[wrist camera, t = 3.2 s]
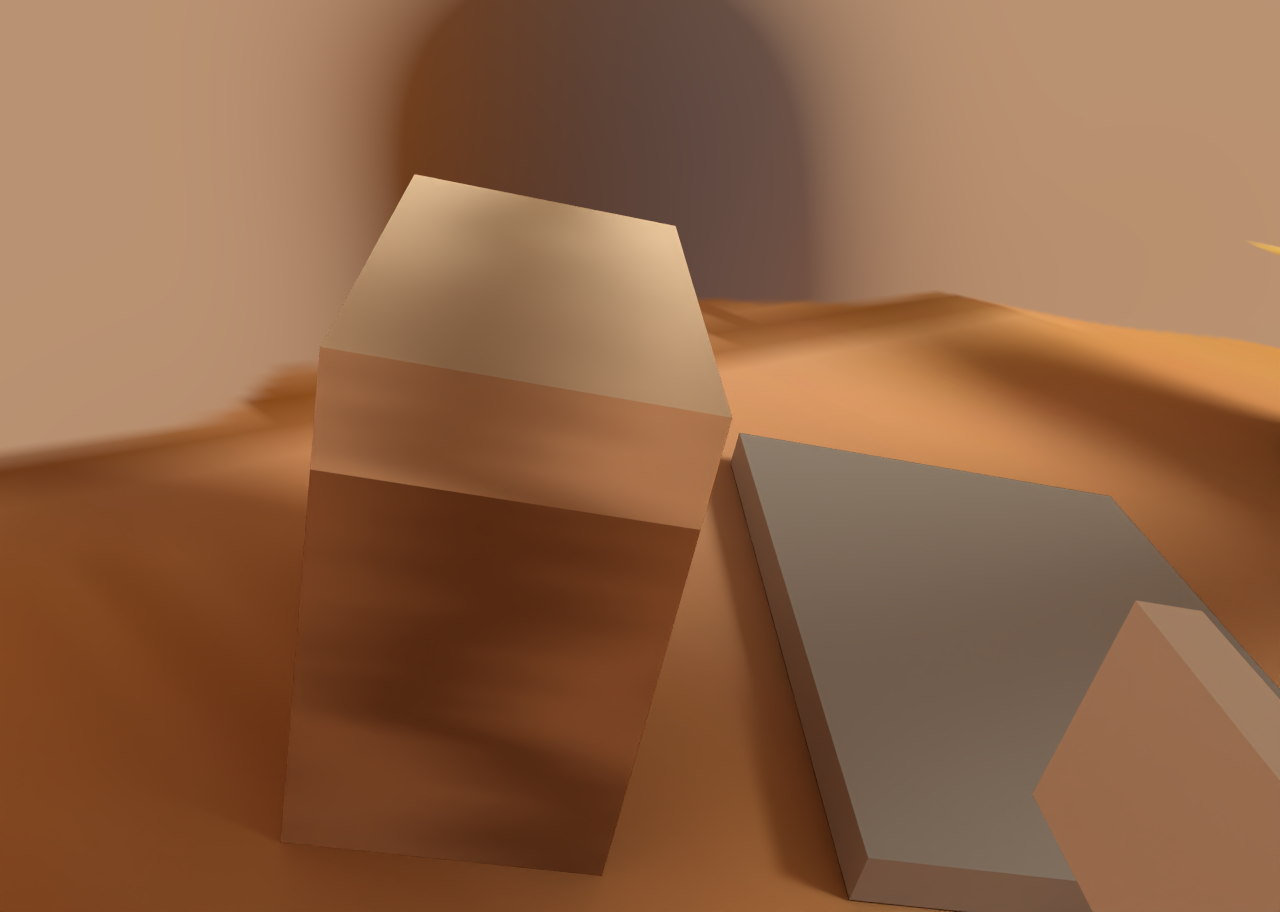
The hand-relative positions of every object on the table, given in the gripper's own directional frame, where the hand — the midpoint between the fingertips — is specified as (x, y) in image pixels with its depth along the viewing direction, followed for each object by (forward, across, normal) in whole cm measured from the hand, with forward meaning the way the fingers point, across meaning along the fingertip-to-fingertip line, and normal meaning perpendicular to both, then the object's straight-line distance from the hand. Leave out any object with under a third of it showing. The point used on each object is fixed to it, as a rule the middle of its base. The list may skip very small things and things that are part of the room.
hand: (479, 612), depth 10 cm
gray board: (+15, +15, -10) cm, 23 cm away
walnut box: (+11, 0, -10) cm, 15 cm away
